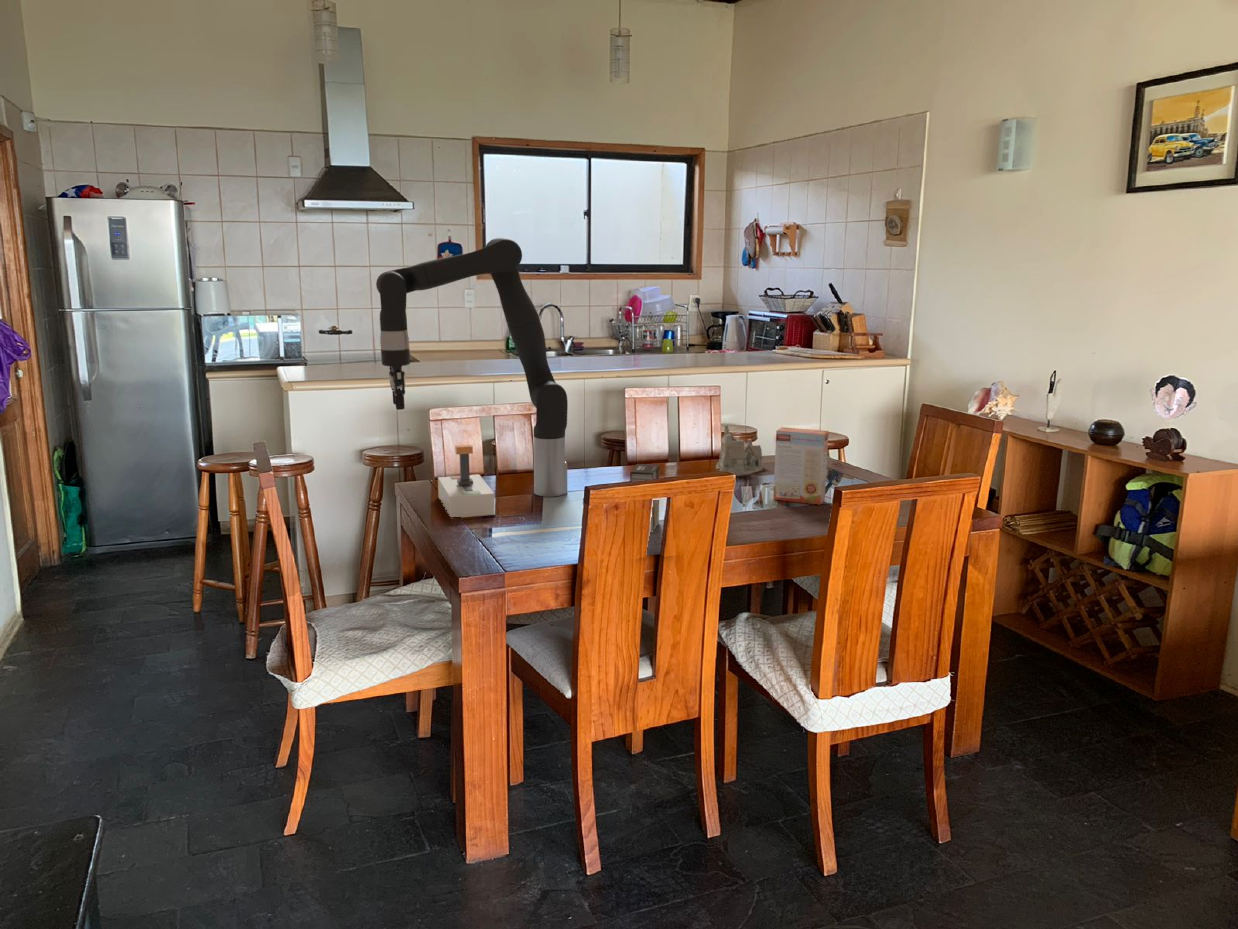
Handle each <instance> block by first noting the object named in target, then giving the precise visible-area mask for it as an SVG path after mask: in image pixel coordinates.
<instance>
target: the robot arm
mask: <svg viewBox="0 0 1238 929" xmlns="http://www.w3.org/2000/svg"><path fill="white" fill-rule="evenodd" d="M522 259H523V252H522V249H521V247H520V245H519V244H518V243H517V242H516V241H515V240H513V239H511V238H507V237H497V238H493V239H491V240H490V241H488V242H487V243H486V244H485V246H484V247H482V248H480V249H477V250H474V251H472V252H467V253H462V254H457V255H451V256H447V257H446V256H445V257H442V258H436V259H432V260H429V261H424V262H421V263H417V264H415V265H412V266H407V267H402V268H397V269H391V270H388V271H384V272H382V273H380V275H379V276H378V277H377V279H376V283H375V286H376V289H377V291H378V293H379V298H380V300H379V301H380V307H381V308H380V312H379V326H380V327H379V328H380V336H379V337H380V338H379V339H380V340H379V341H380V342H379V343H380V344H379V345H380V354H381V365H383V366H385V367H389V371H388V377H389V385H390V389H391V391H392V393H391V394H392V404H393V405H394V406H395V409H396V410H405V394H406V389H405V388H406V381H405V379H406V373H405V371H404V370H403V366H409V365H410V364H411V355H410V354H411V353H410V350H411V349H410V336H409V332H408V320H407V319H408V318H407V311H406V310H407V294H408V293H413V292H416V291H426V290H429V289H434V288H436V287H441V286H444V285H448V284H450V283H454V282H457V281H460V280H465V279H468V278H471V277H475V276H480V275H486V274H490V275H491V278H492V280H493V283H494V285H495V288H496V290H497V293H498V297H499V300H500V305H501V307H502V308H501V309H502V312H503V315H504V318H505V322H506V324H507V325H506V326H507V328H508V331H509V334H510V337H511V340H512V342H513V343H512V344H513V345H514V347H515V351H516V354H517V356H518V358H519V361H520V363H521V365H522V368H523V372H524V374H525V379H526V384H527V387H528V388H527V389H528V393H529V398H530V401H531V404H532V405H533V406H534V407H535V410H536V411H535V412H536V413H535V414H536V417H535V421H536V422H535V425H534V427H533V432H532V434H533V484H534V485H533V487H534V488H533V492H534V495H536V496H540V497H549V498H550V497H559V496H563V495H567V494H568V463H567V461H566V429H567V426H568V410H569V409H568V405H569V404H568V395H567V392H566V390H565V388H564V387H563V386H562V385H560V384H558V383H557V382H556V380H555V378H554V376H553V373H552V371H551V369H550V368H551V367H550V366H549V363H548V360H547V358H548V357H547V347H546V345H547V344H546V336H545V332H544V328H543V325H542V323H541V320H540V316H539V313H538V311H537V309H536V306H535V304H534V303H533V301H532V299H531V297H530V296H529V294H528V292H527V290H526V289H525V287H524V284H523V282H522V279H521V276H520V272H519V265H520V264H521V262H522ZM566 493H567V494H566Z"/></svg>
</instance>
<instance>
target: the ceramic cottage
mask: <svg viewBox="0 0 1238 929" xmlns="http://www.w3.org/2000/svg"><path fill="white" fill-rule="evenodd" d="M729 429H730V428H729V425H728V424H724V430H723V433H724V435H723V436H722V437H721V438H720V442H721V450H720V454H719V460H718V461H717V462H716V463H715V470H717V469H720V470H719V471H726V472H734V473H736V476H735V477H737V476H738V477H739V476H747V475H750V474H754V473H756V472H761V471H763V465H762V464H761V463H762V460H763V452H762V446H761V445H758V444H756V445H753V444H752V439H751V438H747V442H745V441H744V440H743V439H742V440H737V438H736V437H735V436H734V435H733V434H732V433H731V432H730V430H729Z"/></svg>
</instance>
